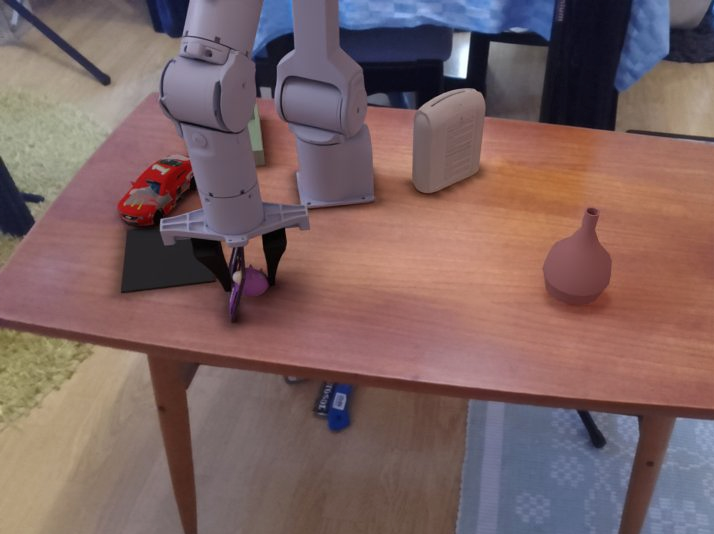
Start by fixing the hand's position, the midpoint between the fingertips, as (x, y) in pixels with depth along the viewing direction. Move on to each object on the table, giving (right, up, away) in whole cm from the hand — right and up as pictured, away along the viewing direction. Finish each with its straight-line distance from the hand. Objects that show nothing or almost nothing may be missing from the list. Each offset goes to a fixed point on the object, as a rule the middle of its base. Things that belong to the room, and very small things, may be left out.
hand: (249, 283), depth 76 cm
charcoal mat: (-11, +4, +4) cm, 12 cm away
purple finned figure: (0, -1, +1) cm, 2 cm away
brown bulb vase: (+36, -1, +4) cm, 37 cm away
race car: (-14, +11, +11) cm, 22 cm away
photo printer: (+22, +16, +18) cm, 32 cm away
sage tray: (-9, +21, +21) cm, 31 cm away
